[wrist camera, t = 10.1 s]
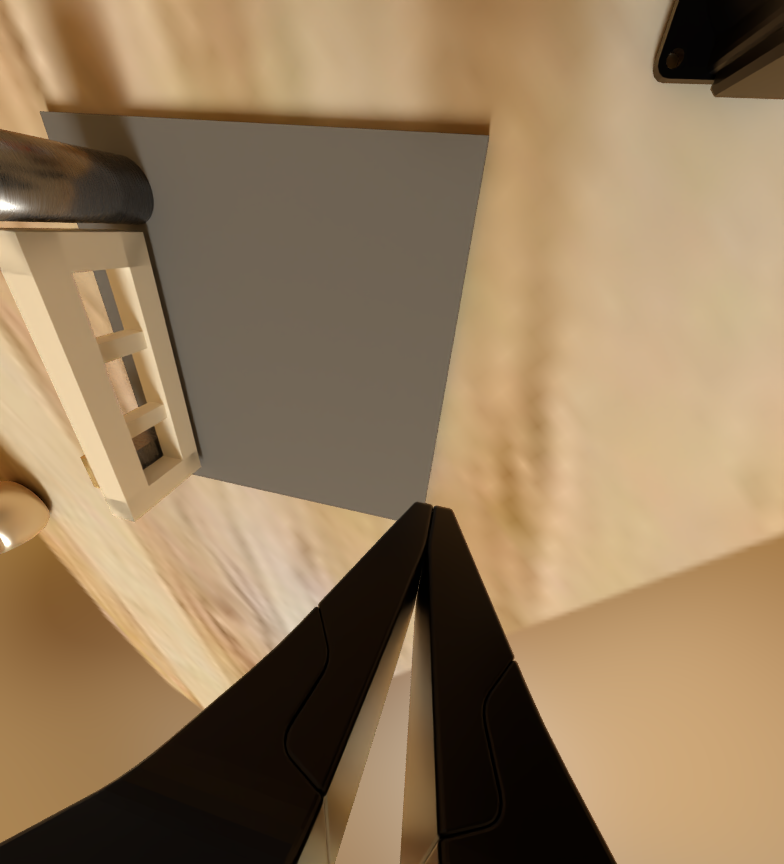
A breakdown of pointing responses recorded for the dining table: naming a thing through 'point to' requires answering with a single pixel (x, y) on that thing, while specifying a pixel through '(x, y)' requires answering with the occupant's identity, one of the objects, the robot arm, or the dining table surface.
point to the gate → (104, 356)
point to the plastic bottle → (19, 515)
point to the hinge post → (69, 183)
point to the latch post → (145, 449)
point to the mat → (303, 293)
